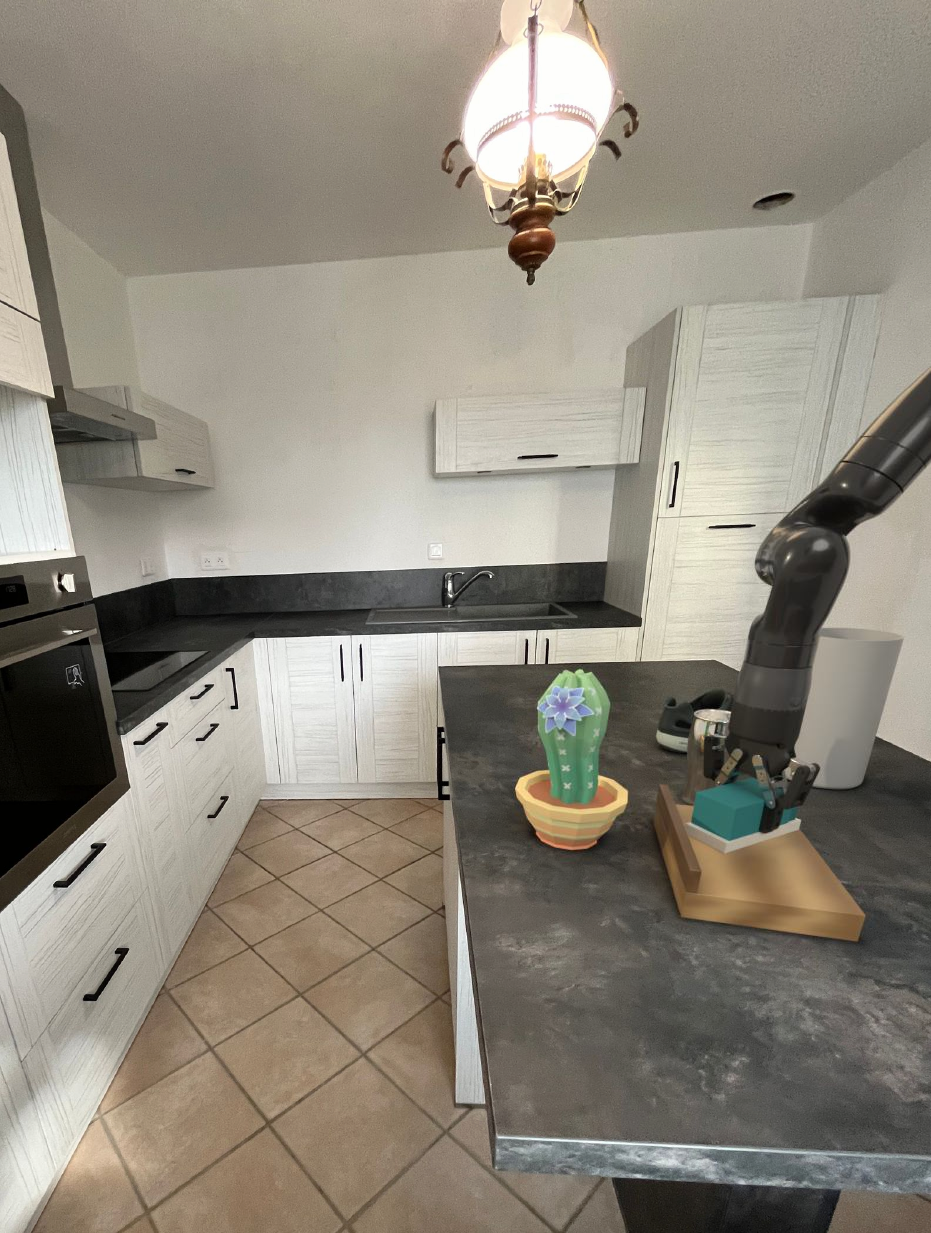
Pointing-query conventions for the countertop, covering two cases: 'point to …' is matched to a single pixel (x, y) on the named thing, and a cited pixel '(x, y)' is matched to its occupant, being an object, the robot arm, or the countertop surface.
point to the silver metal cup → (702, 749)
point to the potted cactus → (572, 766)
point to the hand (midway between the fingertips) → (743, 821)
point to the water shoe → (687, 718)
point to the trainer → (734, 816)
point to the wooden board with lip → (754, 880)
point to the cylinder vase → (846, 703)
